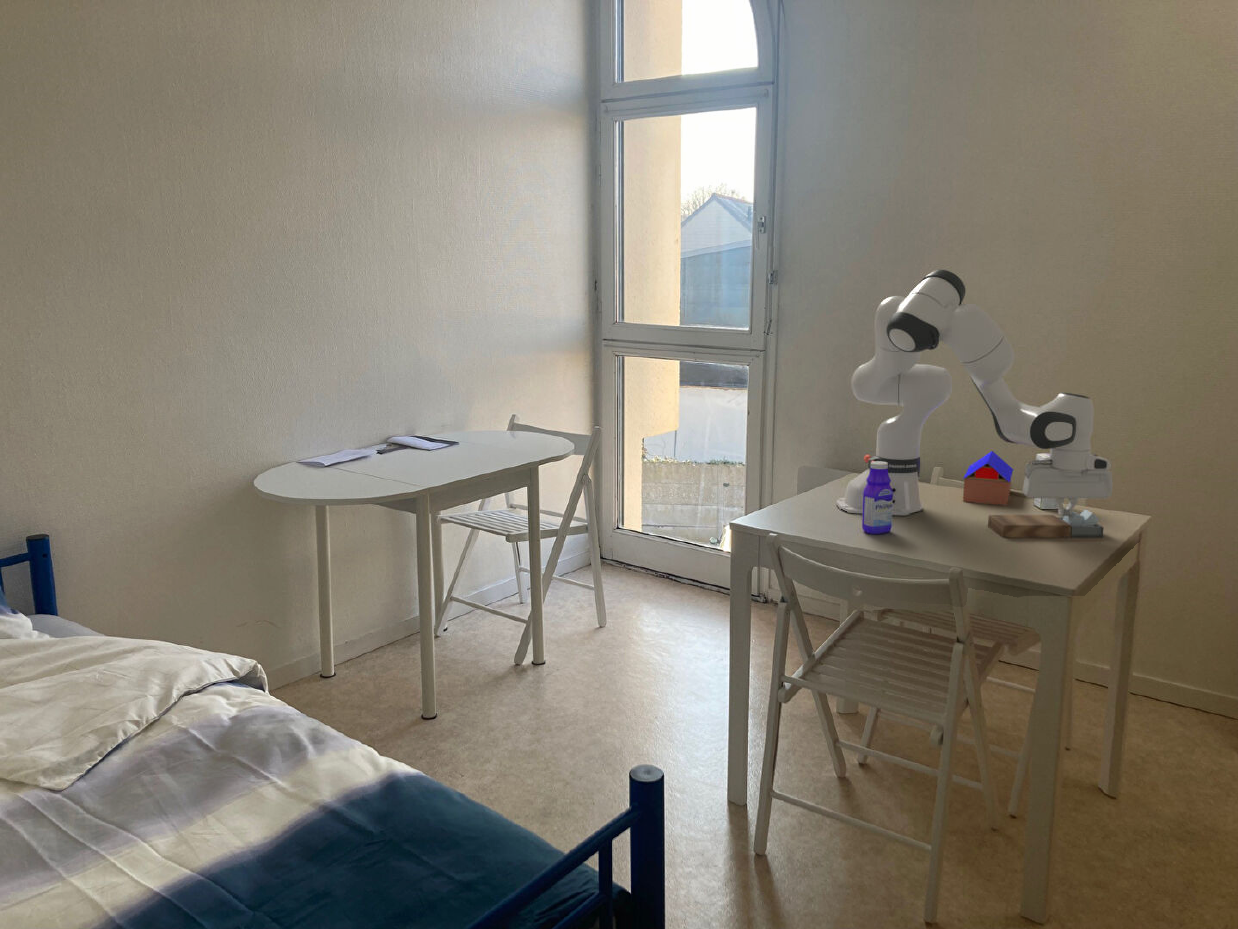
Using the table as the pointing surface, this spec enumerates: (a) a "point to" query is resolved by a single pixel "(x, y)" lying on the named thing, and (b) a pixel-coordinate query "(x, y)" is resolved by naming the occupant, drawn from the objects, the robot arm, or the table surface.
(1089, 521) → the tile
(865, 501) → the bottle
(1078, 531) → the tray
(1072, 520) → the tile
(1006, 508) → the table surface
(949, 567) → the table surface
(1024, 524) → the board
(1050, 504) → the syrup box
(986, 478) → the house
